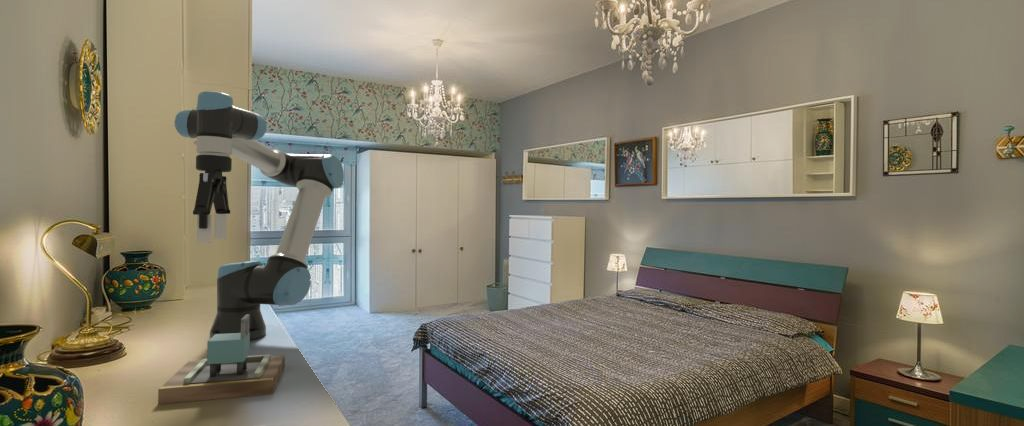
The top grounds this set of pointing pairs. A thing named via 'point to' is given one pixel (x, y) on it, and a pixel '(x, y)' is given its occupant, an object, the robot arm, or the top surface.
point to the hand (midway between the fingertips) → (212, 240)
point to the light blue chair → (229, 348)
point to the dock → (223, 380)
